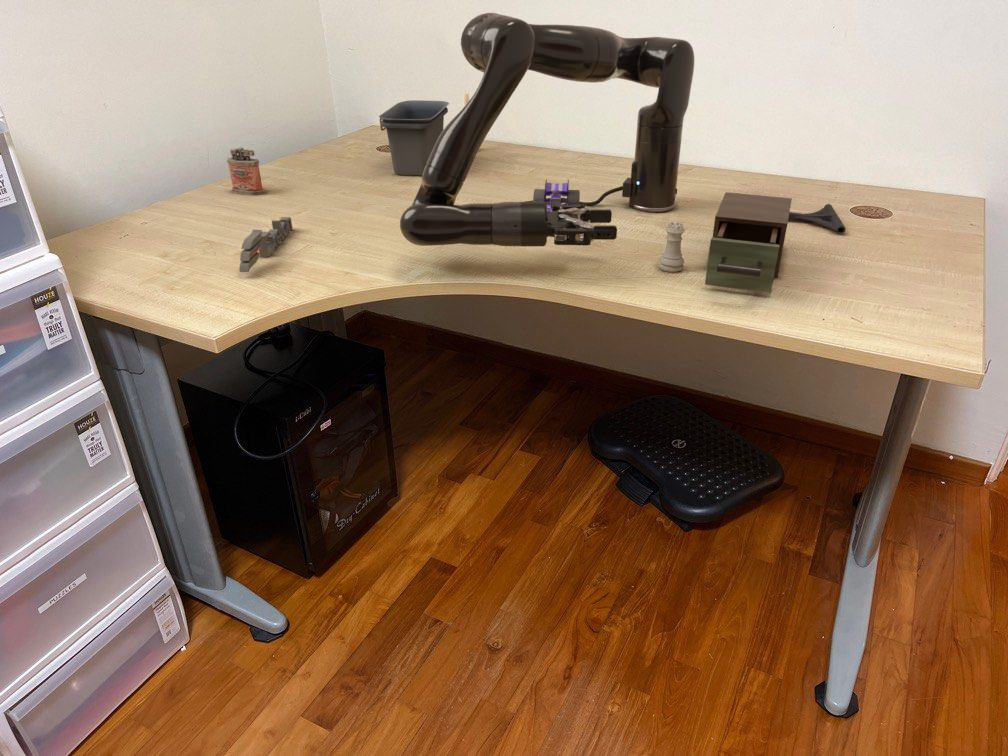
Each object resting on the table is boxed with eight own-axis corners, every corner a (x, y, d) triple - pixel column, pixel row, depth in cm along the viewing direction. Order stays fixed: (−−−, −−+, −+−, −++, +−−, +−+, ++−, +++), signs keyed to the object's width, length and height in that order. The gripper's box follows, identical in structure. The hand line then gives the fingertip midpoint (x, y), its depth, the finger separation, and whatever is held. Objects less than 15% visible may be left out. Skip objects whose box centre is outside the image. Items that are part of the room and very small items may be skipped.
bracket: (757, 208, 162) (759, 195, 161) (831, 211, 160) (833, 198, 158) (764, 231, 150) (767, 217, 149) (844, 235, 148) (847, 221, 146)
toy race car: (528, 232, 151) (529, 199, 147) (534, 208, 164) (534, 178, 160) (577, 233, 150) (578, 200, 147) (579, 209, 163) (580, 179, 159)
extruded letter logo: (249, 278, 132) (243, 247, 129) (240, 278, 132) (234, 247, 129) (292, 229, 153) (288, 202, 150) (285, 229, 153) (280, 202, 150)
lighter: (229, 192, 176) (221, 148, 171) (239, 188, 179) (231, 145, 174) (258, 195, 174) (250, 151, 168) (267, 191, 176) (259, 148, 171)
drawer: (768, 305, 118) (776, 258, 114) (700, 296, 121) (706, 250, 117) (776, 263, 133) (784, 220, 129) (715, 256, 136) (721, 214, 132)
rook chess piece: (655, 264, 136) (659, 220, 132) (679, 263, 136) (684, 219, 132) (661, 273, 132) (666, 229, 128) (687, 272, 132) (692, 228, 128)
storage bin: (434, 179, 183) (430, 118, 176) (372, 177, 186) (366, 116, 179) (454, 157, 201) (452, 101, 194) (398, 155, 204) (393, 99, 197)
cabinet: (777, 278, 130) (787, 223, 125) (708, 269, 133) (715, 216, 128) (782, 249, 141) (791, 198, 137) (718, 241, 145) (725, 192, 140)
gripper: (519, 216, 122) (620, 215, 122) (518, 190, 134) (610, 190, 134) (518, 260, 126) (617, 260, 126) (518, 231, 138) (608, 231, 138)
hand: (613, 224), depth 130 cm, fingers open, 8 cm apart
